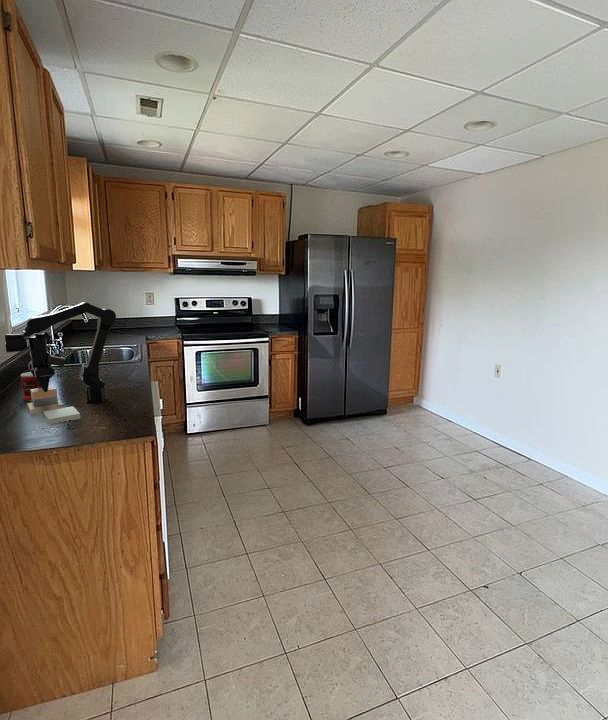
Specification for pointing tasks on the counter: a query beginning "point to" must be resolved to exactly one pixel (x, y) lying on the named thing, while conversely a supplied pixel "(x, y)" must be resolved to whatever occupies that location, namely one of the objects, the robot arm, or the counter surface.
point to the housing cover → (43, 393)
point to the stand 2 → (61, 415)
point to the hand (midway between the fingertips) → (43, 389)
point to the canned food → (28, 384)
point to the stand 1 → (44, 407)
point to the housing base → (44, 401)
